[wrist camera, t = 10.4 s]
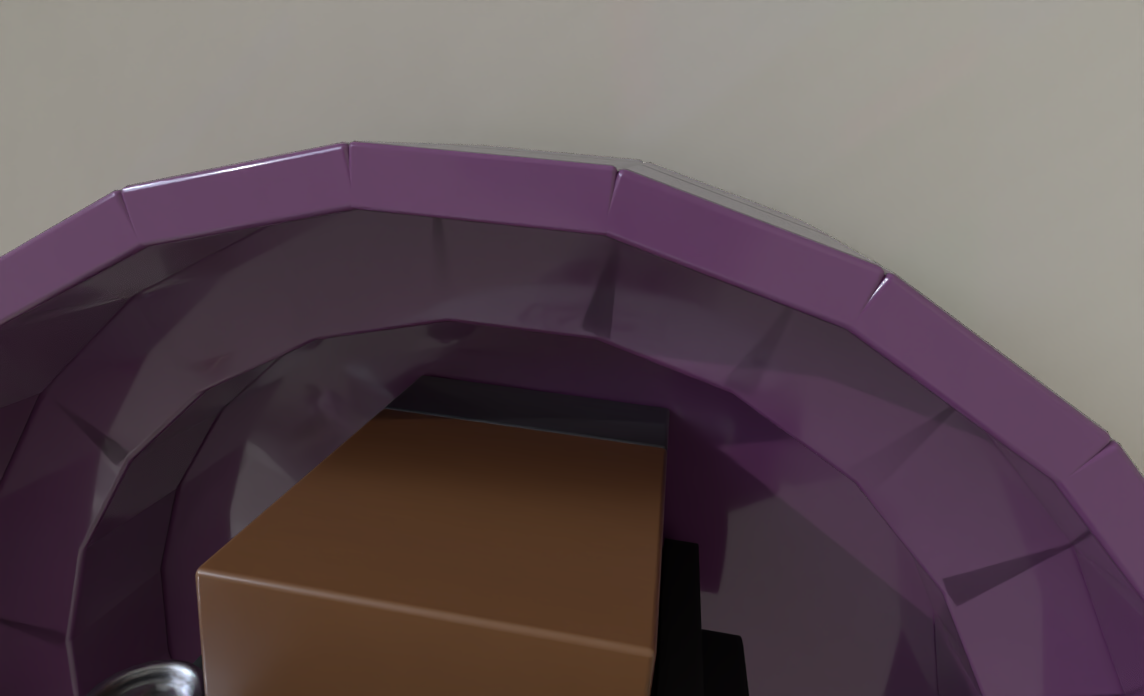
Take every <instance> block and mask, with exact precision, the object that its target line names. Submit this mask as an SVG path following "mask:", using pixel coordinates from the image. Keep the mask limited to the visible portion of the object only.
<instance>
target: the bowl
mask: <svg viewBox="0 0 1144 696" xmlns="http://www.w3.org/2000/svg"><path fill="white" fill-rule="evenodd" d="M423 375H424V376H431V377H439V378H446V379H454V380H461V381H468V382H476V383H483V384H491V385H498V386H505V387H513V388H520V389H528V390H535V391H542V392H550V393H557V394H564V395H572V396H579V397H587V398H594V399H601V400H609V401H616V402H624V403H631V404H638V405H646V406H653V407H661V408H667V409H669V412H670V415H669V433H668V450H667V469H666V488H665V506H664V524H663V543H662V547H663V546H664V540H665V538H667V539H673V540H680V541H686V542H692V543H698V545H699V569H700V598H701V626H702V629H705V630H711V631H716V632H722V633H728V634H734V635H739V636H741V638H742V641H743V647H744V655H745V664H746V672H747V681H748V689H749V696H1144V476H1143V475H1142V473H1141V472H1140V471H1139V469H1138V468H1137V467H1136V465H1135V464H1134V462H1133V461H1132V460H1131V458H1130V457H1129V456H1128V454H1127V453H1126V451H1125V450H1124V449H1123V447H1122V446H1121V445H1120V443H1118V442H1117V441H1115V440H1114V439H1112V438H1111V437H1110V435H1109V433H1108V431H1106V430H1105V429H1104V428H1102V427H1101V426H1100V425H1098V424H1097V423H1096V422H1094V421H1093V420H1091V419H1090V418H1089V417H1087V416H1086V415H1085V414H1083V413H1082V412H1081V411H1079V410H1078V409H1077V408H1075V407H1074V406H1073V405H1071V404H1070V403H1069V402H1067V401H1066V400H1065V399H1063V398H1062V397H1061V396H1059V395H1058V394H1057V393H1055V392H1054V391H1052V390H1051V389H1050V388H1048V387H1047V386H1046V385H1044V384H1043V383H1042V382H1040V381H1039V380H1038V379H1036V378H1035V377H1034V376H1032V375H1031V374H1030V373H1028V372H1027V371H1026V370H1024V369H1023V368H1022V367H1020V366H1019V365H1017V364H1016V363H1015V362H1013V361H1012V360H1011V359H1009V358H1008V357H1007V356H1005V355H1004V354H1003V353H1001V352H1000V351H999V350H997V349H996V348H995V347H993V346H992V345H991V344H989V343H988V342H987V341H985V340H984V339H983V338H981V337H980V336H978V335H977V334H976V333H974V332H973V331H972V330H970V329H969V328H968V327H966V326H965V325H964V324H962V323H961V322H960V321H958V320H957V319H956V318H954V317H953V316H952V315H950V314H949V313H948V312H946V311H945V310H943V309H942V308H941V307H939V306H938V305H937V304H935V303H934V302H933V301H931V300H930V299H929V298H927V297H926V296H925V295H923V294H922V293H921V292H919V291H918V290H917V289H915V288H914V287H913V286H911V285H910V284H908V283H907V282H906V281H904V280H903V279H902V278H900V277H899V276H898V275H896V274H895V273H893V272H891V271H890V270H888V269H886V268H885V267H883V266H881V265H879V264H878V263H876V262H874V261H872V260H871V259H869V258H867V257H865V256H864V255H862V254H860V253H859V252H857V251H855V250H853V249H852V248H850V247H848V246H846V245H845V244H843V243H841V242H840V241H838V240H836V239H835V238H833V237H831V236H829V235H828V234H826V233H824V232H822V231H821V230H819V229H817V228H815V227H814V226H812V225H810V224H807V223H806V222H804V221H802V220H801V219H798V218H795V217H793V216H790V215H788V214H785V213H782V212H780V211H777V210H774V209H772V208H769V207H767V206H764V205H761V204H759V203H756V202H753V201H751V200H748V199H746V198H743V197H740V196H738V195H735V194H732V193H730V192H727V191H725V190H722V189H719V188H717V187H714V186H711V185H709V184H706V183H704V182H701V181H698V180H696V179H693V178H690V177H688V176H685V175H683V174H680V173H677V172H675V171H672V170H669V169H667V168H664V167H662V166H659V165H656V164H654V163H651V162H646V163H643V161H642V160H640V159H629V158H618V157H607V156H596V155H585V154H574V153H563V152H553V151H542V150H531V149H520V148H509V147H498V146H487V145H463V144H433V143H403V142H372V141H353V142H340V143H335V144H330V145H325V146H320V147H315V148H310V149H305V150H300V151H295V152H291V153H286V154H281V155H276V156H271V157H266V158H261V159H256V160H251V161H246V162H241V163H236V164H231V165H226V166H221V167H216V168H211V169H206V170H201V171H196V172H191V173H186V174H181V175H176V176H172V177H167V178H162V179H157V180H152V181H147V182H142V183H137V184H132V185H127V186H126V187H124V188H123V189H122V190H114V191H113V192H111V193H109V194H107V195H106V196H104V197H102V198H101V199H99V200H97V201H95V202H94V203H92V204H90V205H89V206H87V207H85V208H83V209H82V210H80V211H78V212H77V213H75V214H73V215H71V216H70V217H68V218H66V219H64V220H63V221H61V222H59V223H58V224H56V225H54V226H52V227H51V228H49V229H47V230H46V231H44V232H42V233H40V234H39V235H37V236H35V237H34V238H32V239H30V240H28V241H27V242H25V243H23V244H21V245H20V246H18V247H16V248H15V249H13V250H11V251H9V252H8V253H6V254H4V255H3V256H1V257H0V696H85V695H87V694H88V693H89V692H90V691H91V690H92V689H93V688H94V687H95V686H96V685H97V684H99V683H100V682H102V681H104V680H105V679H107V678H108V677H110V676H111V675H113V674H115V673H117V672H119V671H122V670H124V669H126V668H129V667H131V666H133V665H137V664H141V663H145V662H149V661H153V660H166V659H175V660H181V661H187V662H190V663H192V664H193V663H194V662H195V661H196V659H197V658H198V657H199V656H200V655H201V654H202V653H201V640H200V628H199V615H198V603H197V591H196V578H195V575H196V571H197V569H198V568H199V567H200V566H201V565H202V564H203V563H204V562H206V561H207V560H208V559H209V558H210V557H211V556H213V555H214V554H215V553H216V552H217V551H218V550H220V549H221V548H222V547H223V546H224V545H225V544H227V543H228V542H229V541H230V540H231V539H232V538H234V537H235V536H236V535H237V534H238V533H239V532H241V531H242V530H243V529H244V528H245V527H246V526H248V525H249V524H250V523H251V522H252V521H253V520H255V519H256V518H257V517H258V516H259V515H260V514H261V513H263V512H264V511H265V510H266V509H267V508H268V507H270V506H271V505H272V504H273V503H274V502H275V501H277V500H278V499H279V498H280V497H281V496H282V495H284V494H285V493H286V492H287V491H288V490H289V489H291V488H292V487H293V486H294V485H295V484H296V483H298V482H299V481H300V480H301V479H302V478H303V477H305V476H306V475H307V474H308V473H309V472H310V471H311V470H313V469H314V468H315V467H316V466H317V465H318V464H320V463H321V462H322V461H323V460H324V459H325V458H327V457H328V456H329V455H330V454H331V453H332V452H334V451H335V450H336V449H337V448H338V447H339V446H341V445H342V444H343V443H344V442H345V441H346V440H348V439H349V438H350V437H351V436H352V435H353V434H355V433H356V432H357V431H358V430H359V429H360V428H362V427H363V426H364V425H365V424H366V423H367V422H368V421H370V420H371V419H372V418H373V417H374V416H375V415H377V414H378V413H379V412H380V411H381V410H383V409H385V407H386V406H387V405H388V404H389V403H390V402H392V401H393V400H394V399H395V398H396V397H397V396H398V395H400V394H401V393H402V392H403V391H404V390H405V389H407V388H408V387H409V386H410V385H411V384H412V383H414V382H415V381H416V380H417V379H418V378H419V377H421V376H423Z"/></svg>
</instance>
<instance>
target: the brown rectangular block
mask: <svg viewBox="0 0 1144 696" xmlns="http://www.w3.org/2000/svg"><path fill="white" fill-rule="evenodd" d="M669 415H670V412H669V409H667V408H661V407H653V406H646V405H638V404H631V403H624V402H616V401H609V400H601V399H594V398H587V397H579V396H572V395H564V394H557V393H550V392H542V391H535V390H528V389H520V388H513V387H505V386H498V385H491V384H483V383H476V382H468V381H461V380H454V379H446V378H439V377H431V376H424V375H423V376H421V377H419V378H418V379H417V380H416V381H415V382H414V383H412V384H411V385H410V386H409V387H408V388H407V389H405V390H404V391H403V392H402V393H401V394H400V395H398V396H397V397H396V398H395V399H394V400H393V401H392V402H390V403H389V404H388V405H387V406H386V407H385V409H383V410H381V411H380V412H379V413H378V414H377V415H375V416H374V417H373V418H372V419H371V420H370V421H368V422H367V423H366V424H365V425H364V426H363V427H362V428H360V429H359V430H358V431H357V432H356V433H355V434H353V435H352V436H351V437H350V438H349V439H348V440H346V441H345V442H344V443H343V444H342V445H341V446H339V447H338V448H337V449H336V450H335V451H334V452H332V453H331V454H330V455H329V456H328V457H327V458H325V459H324V460H323V461H322V462H321V463H320V464H318V465H317V466H316V467H315V468H314V469H313V470H311V471H310V472H309V473H308V474H307V475H306V476H305V477H303V478H302V479H301V480H300V481H299V482H298V483H296V484H295V485H294V486H293V487H292V488H291V489H289V490H288V491H287V492H286V493H285V494H284V495H282V496H281V497H280V498H279V499H278V500H277V501H275V502H274V503H273V504H272V505H271V506H270V507H268V508H267V509H266V510H265V511H264V512H263V513H261V514H260V515H259V516H258V517H257V518H256V519H255V520H253V521H252V522H251V523H250V524H249V525H248V526H246V527H245V528H244V529H243V530H242V531H241V532H239V533H238V534H237V535H236V536H235V537H234V538H232V539H231V540H230V541H229V542H228V543H227V544H225V545H224V546H223V547H222V548H221V549H220V550H218V551H217V552H216V553H215V554H214V555H213V556H211V557H210V558H209V559H208V560H207V561H206V562H204V563H203V564H202V565H201V566H200V567H199V568H198V569H197V571H196V575H195V578H196V591H197V603H198V615H199V628H200V640H201V653H202V665H203V677H204V690H205V696H650V695H651V688H652V681H653V674H654V667H655V661H656V653H657V634H658V616H659V598H660V579H661V561H662V543H663V524H664V506H665V488H666V469H667V450H668V433H669Z"/></svg>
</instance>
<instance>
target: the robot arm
mask: <svg viewBox="0 0 1144 696" xmlns="http://www.w3.org/2000/svg"><path fill="white" fill-rule="evenodd" d="M85 696H205V690H204V677H203V665H202V654H201V655H200V656H199V657H198V658H197V659H196V661H195V662H194V663H193V664H192V663H190V662H187V661H181V660H175V659H166V660H153V661H149V662H145V663H141V664H137V665H133V666H131V667H129V668H126V669H124V670H122V671H119V672H117V673H115V674H113V675H111V676H110V677H108V678H107V679H105V680H104V681H102V682H100V683H99V684H97V685H96V686H95V687H94V688H93V689H92V690H91V691H90V692H89V693H88V694H87V695H85ZM650 696H749V689H748V681H747V672H746V664H745V655H744V647H743V641H742V638H741V636H739V635H734V634H728V633H722V632H716V631H711V630H705V629H702V626H701V598H700V569H699V545H698V543H692V542H686V541H680V540H673V539H667V538H665V540H664V546H663V547H662V561H661V579H660V598H659V616H658V634H657V653H656V661H655V667H654V674H653V681H652V688H651V695H650Z"/></svg>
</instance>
